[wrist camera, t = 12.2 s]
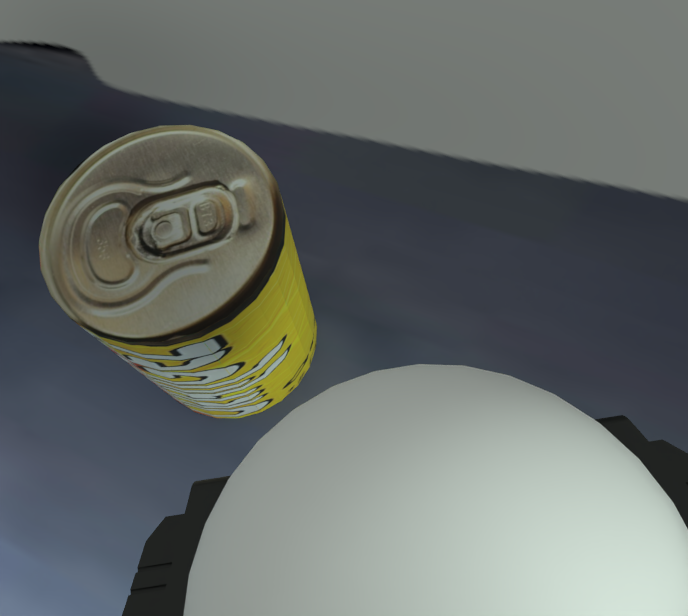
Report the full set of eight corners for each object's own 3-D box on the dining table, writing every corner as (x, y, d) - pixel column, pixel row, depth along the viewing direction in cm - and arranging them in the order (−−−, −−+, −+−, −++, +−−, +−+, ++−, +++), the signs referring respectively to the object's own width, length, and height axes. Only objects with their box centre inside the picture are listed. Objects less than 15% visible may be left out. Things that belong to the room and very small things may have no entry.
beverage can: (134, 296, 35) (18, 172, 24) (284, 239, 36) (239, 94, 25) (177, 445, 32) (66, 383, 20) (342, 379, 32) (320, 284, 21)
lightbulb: (586, 543, 15) (986, 498, 5) (471, 805, 13) (733, 1577, 3) (369, 418, 17) (335, 187, 6) (240, 636, 15) (-86, 790, 5)
